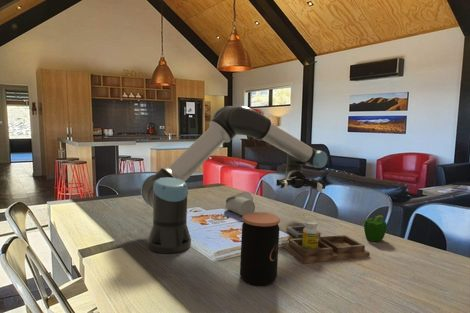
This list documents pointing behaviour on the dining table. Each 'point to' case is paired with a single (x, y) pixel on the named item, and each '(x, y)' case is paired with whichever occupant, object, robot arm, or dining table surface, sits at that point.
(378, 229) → the bell pepper
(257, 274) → the coffee jar
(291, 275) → the dining table surface
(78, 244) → the dining table surface
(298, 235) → the can holder
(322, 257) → the walnut rack
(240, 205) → the l-shaped cylinder
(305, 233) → the supplement bottle
